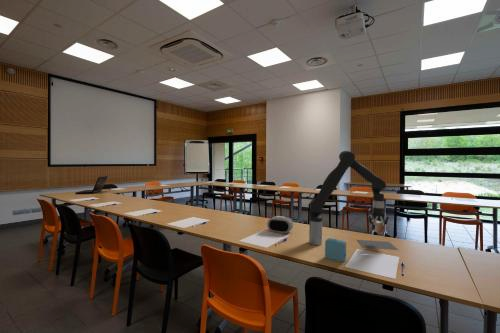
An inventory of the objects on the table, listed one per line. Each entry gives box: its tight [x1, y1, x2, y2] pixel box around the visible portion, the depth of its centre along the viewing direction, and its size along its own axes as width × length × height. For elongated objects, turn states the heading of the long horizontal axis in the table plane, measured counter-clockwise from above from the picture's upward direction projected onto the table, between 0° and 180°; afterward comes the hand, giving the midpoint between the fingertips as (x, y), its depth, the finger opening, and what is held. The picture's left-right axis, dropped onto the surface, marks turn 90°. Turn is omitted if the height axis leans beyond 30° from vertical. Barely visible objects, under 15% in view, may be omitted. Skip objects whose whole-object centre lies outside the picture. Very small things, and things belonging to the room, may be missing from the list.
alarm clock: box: [266, 215, 294, 235], centre depth 215 cm, size 21×10×13 cm, turn 67°
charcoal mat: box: [356, 239, 399, 251], centre depth 183 cm, size 24×18×1 cm
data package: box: [324, 237, 347, 263], centre depth 157 cm, size 12×4×12 cm, turn 53°
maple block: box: [370, 220, 386, 233], centre depth 183 cm, size 5×5×14 cm
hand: (377, 229), depth 183 cm, fingers closed on maple block, 5 cm apart
